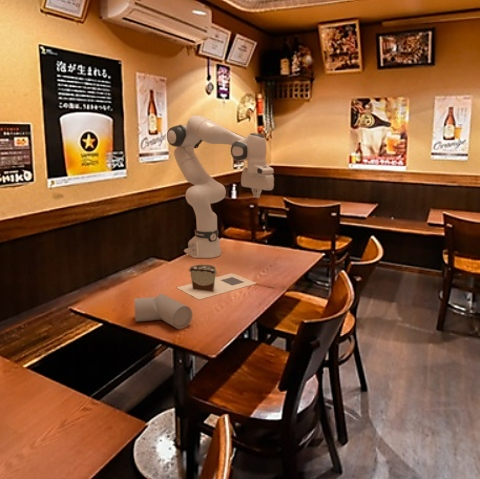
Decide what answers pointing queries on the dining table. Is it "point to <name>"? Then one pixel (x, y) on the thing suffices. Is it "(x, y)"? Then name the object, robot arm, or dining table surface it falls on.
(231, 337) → the dining table surface
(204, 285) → the food container
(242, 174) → the robot arm
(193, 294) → the board
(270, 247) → the dining table surface
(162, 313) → the l-shaped cylinder
